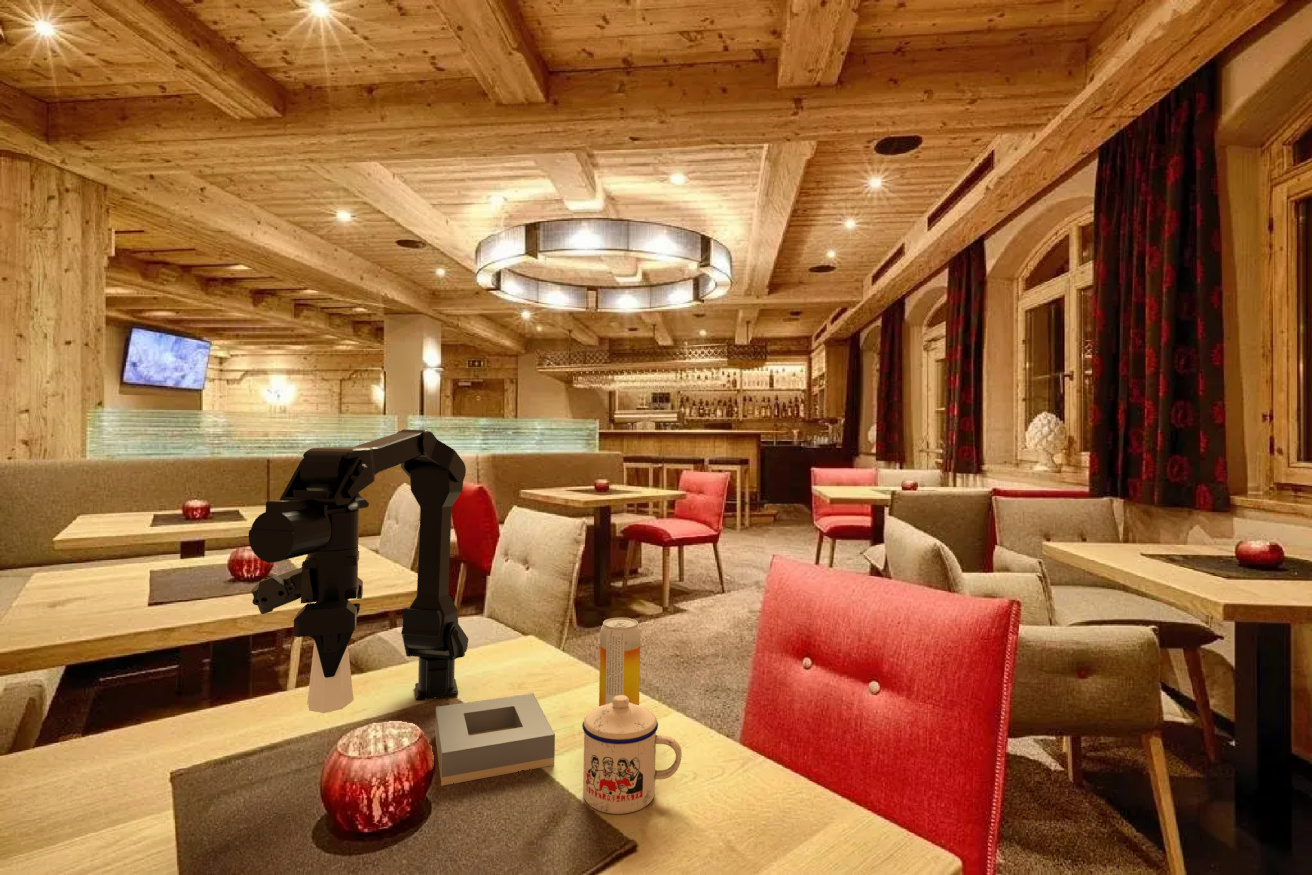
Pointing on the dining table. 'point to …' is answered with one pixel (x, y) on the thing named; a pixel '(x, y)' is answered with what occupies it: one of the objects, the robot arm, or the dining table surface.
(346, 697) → the pepper shaker
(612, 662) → the beer can
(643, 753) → the teacup with lid
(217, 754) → the dining table surface
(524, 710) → the socket block
